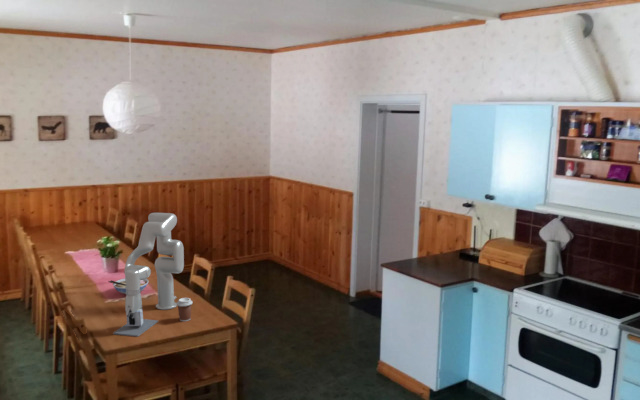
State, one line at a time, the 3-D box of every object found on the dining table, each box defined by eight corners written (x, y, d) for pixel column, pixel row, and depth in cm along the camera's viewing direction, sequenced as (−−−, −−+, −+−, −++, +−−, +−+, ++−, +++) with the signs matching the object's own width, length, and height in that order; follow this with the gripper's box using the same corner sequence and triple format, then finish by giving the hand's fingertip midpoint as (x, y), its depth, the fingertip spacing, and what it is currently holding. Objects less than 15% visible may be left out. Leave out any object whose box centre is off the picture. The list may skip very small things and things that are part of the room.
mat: (134, 319, 331) (134, 318, 331) (158, 321, 327) (158, 320, 327) (113, 334, 310) (113, 332, 310) (137, 336, 306) (137, 335, 306)
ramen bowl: (157, 291, 380) (157, 279, 379) (130, 301, 361) (129, 289, 360) (132, 285, 393) (132, 273, 392) (104, 294, 374) (103, 282, 373)
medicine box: (143, 323, 320) (142, 308, 318) (141, 326, 315) (140, 311, 314) (129, 323, 320) (128, 308, 318) (126, 326, 315) (126, 311, 314)
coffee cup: (176, 317, 334) (175, 298, 332) (192, 315, 337) (191, 296, 335) (178, 323, 325) (177, 303, 323) (194, 321, 329) (193, 301, 327)
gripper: (135, 286, 323) (137, 316, 326) (118, 296, 307) (120, 327, 310) (147, 287, 321) (149, 317, 325) (131, 297, 305) (132, 329, 308)
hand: (135, 322), depth 317 cm, fingers closed on medicine box, 5 cm apart
